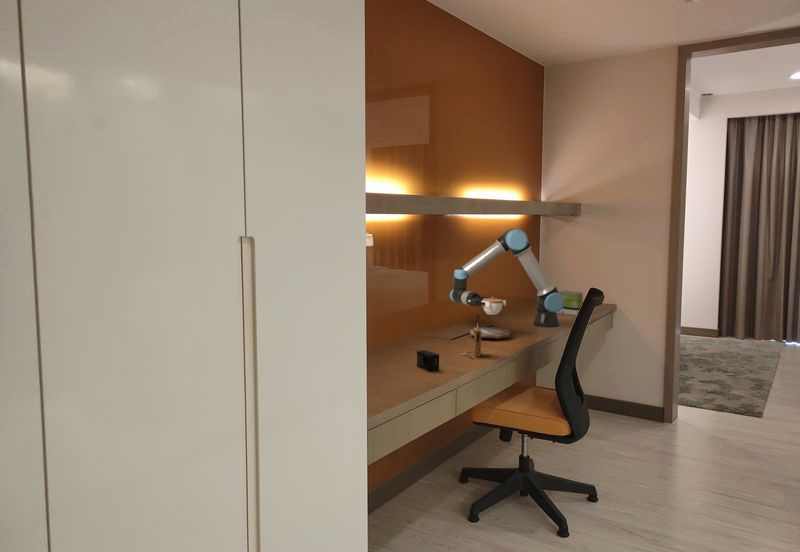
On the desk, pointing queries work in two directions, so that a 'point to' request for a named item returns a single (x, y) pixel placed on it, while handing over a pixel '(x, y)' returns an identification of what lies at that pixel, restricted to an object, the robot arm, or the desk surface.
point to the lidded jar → (493, 306)
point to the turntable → (492, 332)
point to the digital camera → (428, 360)
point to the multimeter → (476, 341)
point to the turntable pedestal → (490, 338)
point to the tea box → (571, 302)
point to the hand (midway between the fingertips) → (497, 303)
